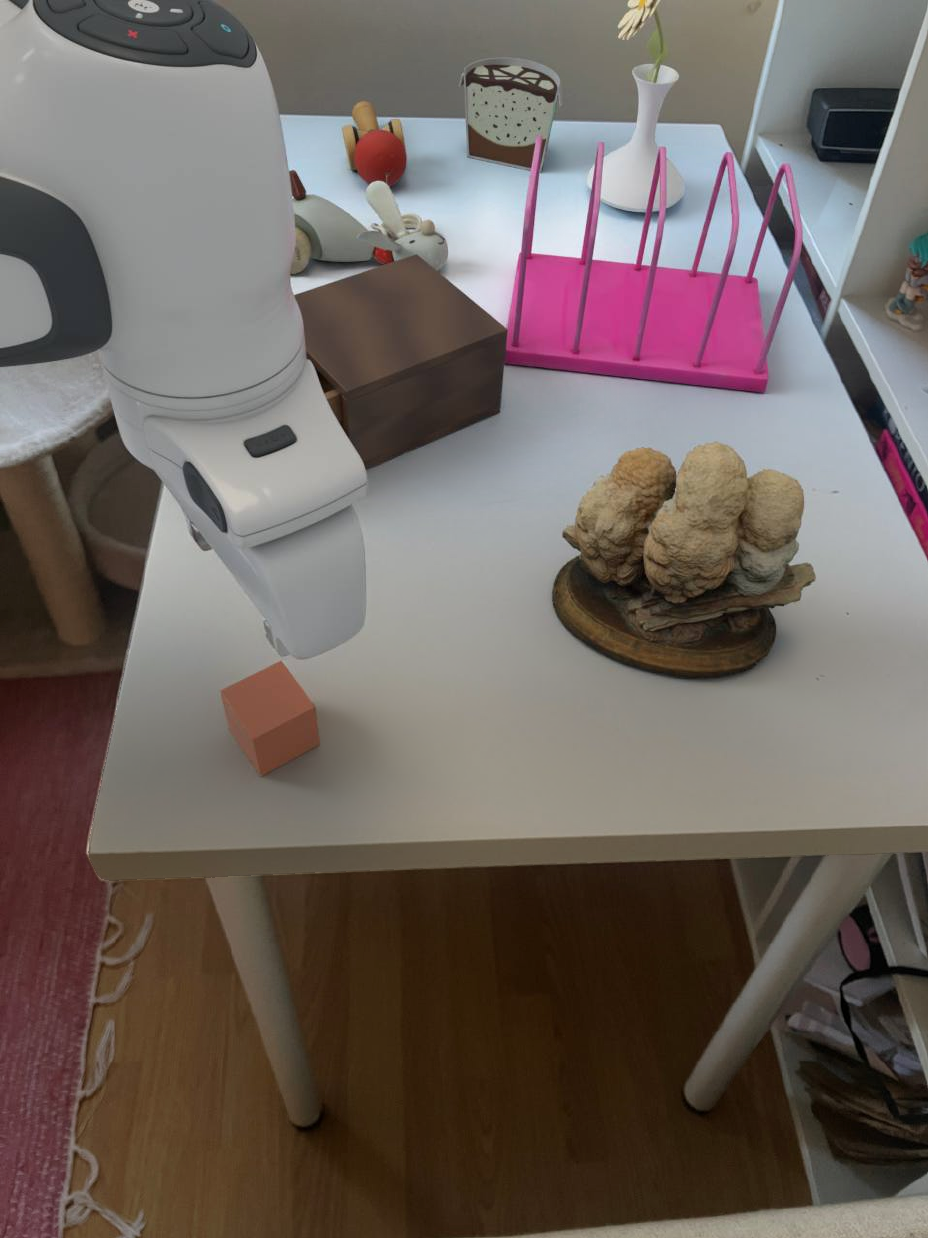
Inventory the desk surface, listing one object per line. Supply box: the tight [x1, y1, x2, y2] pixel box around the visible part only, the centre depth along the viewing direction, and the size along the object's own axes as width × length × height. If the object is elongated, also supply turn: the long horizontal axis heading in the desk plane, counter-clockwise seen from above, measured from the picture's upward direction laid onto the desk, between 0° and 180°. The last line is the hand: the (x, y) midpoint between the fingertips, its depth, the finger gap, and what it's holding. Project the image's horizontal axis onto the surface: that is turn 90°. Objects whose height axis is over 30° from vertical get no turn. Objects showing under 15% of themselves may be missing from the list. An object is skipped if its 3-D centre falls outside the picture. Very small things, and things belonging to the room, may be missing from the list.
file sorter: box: [505, 135, 804, 393], centre depth 95 cm, size 17×25×16 cm
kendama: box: [341, 100, 408, 187], centre depth 119 cm, size 8×6×18 cm
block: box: [219, 660, 321, 777], centre depth 66 cm, size 4×4×4 cm
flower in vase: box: [586, 0, 685, 213], centre depth 108 cm, size 13×11×25 cm
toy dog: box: [289, 169, 449, 275], centre depth 103 cm, size 12×19×9 cm, turn 104°
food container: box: [458, 57, 564, 174], centre depth 119 cm, size 12×6×10 cm, turn 71°
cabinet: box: [294, 254, 508, 470], centre depth 88 cm, size 16×14×9 cm
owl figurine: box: [551, 441, 817, 679], centre depth 70 cm, size 18×12×17 cm, turn 75°
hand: (247, 589), depth 56 cm, fingers open, 8 cm apart
